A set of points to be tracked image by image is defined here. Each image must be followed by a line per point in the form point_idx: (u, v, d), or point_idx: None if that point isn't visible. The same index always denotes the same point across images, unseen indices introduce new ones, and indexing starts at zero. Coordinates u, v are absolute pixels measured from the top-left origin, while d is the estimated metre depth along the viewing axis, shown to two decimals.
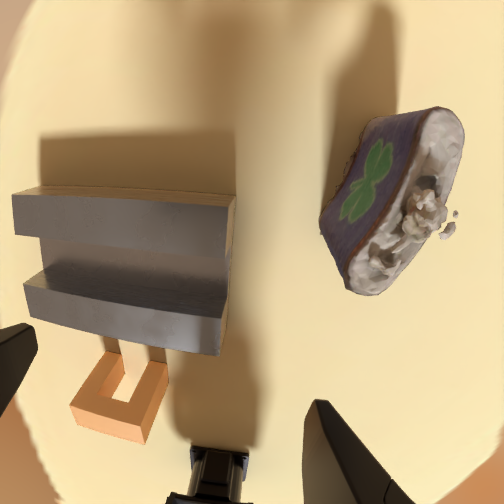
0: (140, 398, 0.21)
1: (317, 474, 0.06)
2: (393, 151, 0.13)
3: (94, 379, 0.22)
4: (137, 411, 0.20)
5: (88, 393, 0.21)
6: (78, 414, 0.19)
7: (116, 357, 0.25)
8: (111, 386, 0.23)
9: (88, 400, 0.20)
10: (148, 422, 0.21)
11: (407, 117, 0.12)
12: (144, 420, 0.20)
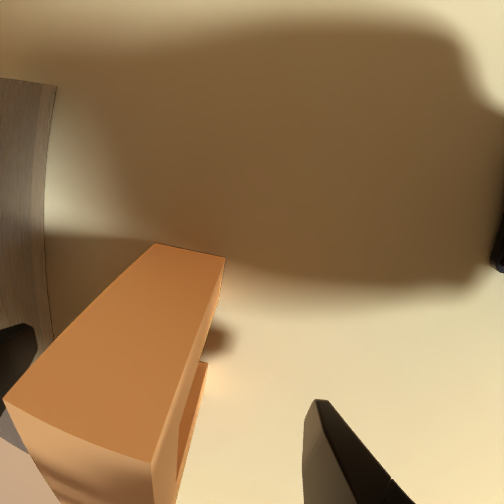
0: None
1: (317, 474, 0.06)
2: None
3: None
4: None
5: None
6: None
7: None
8: None
9: None
10: (107, 369, 0.04)
11: None
12: (42, 371, 0.04)
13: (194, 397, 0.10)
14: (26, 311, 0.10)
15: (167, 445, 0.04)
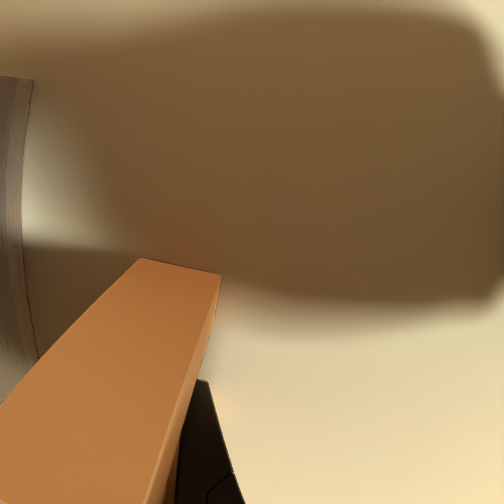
0: None
1: None
2: None
3: None
4: None
5: None
6: None
7: None
8: None
9: None
10: (71, 433, 0.03)
11: None
12: None
13: None
14: (5, 329, 0.08)
15: None
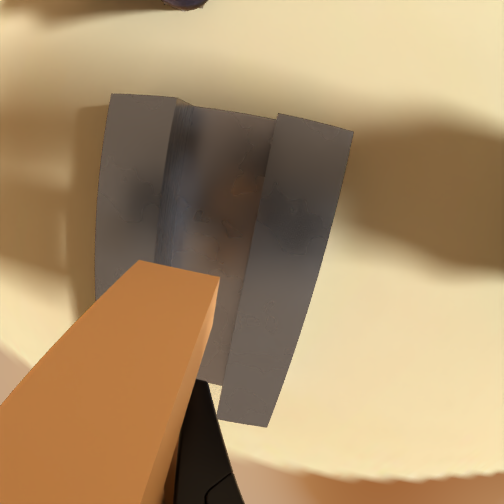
0: None
1: None
2: None
3: None
4: None
5: None
6: None
7: None
8: None
9: None
10: (68, 437, 0.03)
11: None
12: None
13: None
14: None
15: None
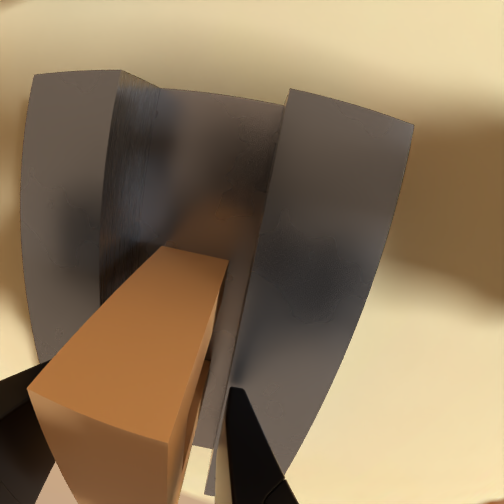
0: None
1: (220, 464, 0.06)
2: None
3: None
4: None
5: None
6: None
7: None
8: None
9: None
10: (124, 361, 0.05)
11: None
12: (64, 363, 0.04)
13: (198, 393, 0.10)
14: None
15: (179, 431, 0.05)
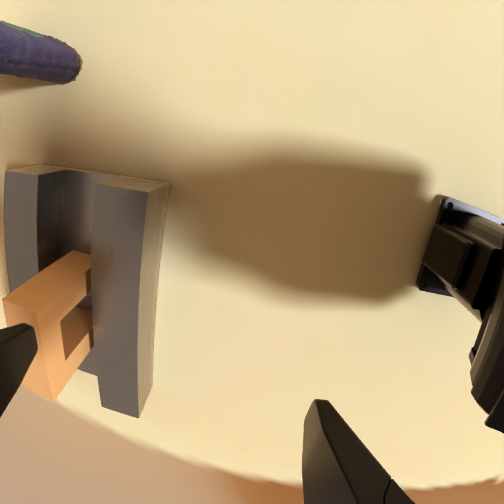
0: None
1: (317, 474, 0.06)
2: None
3: None
4: None
5: None
6: (32, 385, 0.13)
7: None
8: (70, 333, 0.17)
9: None
10: (34, 293, 0.13)
11: None
12: (15, 293, 0.12)
13: (88, 329, 0.18)
14: (149, 316, 0.19)
15: (48, 319, 0.13)
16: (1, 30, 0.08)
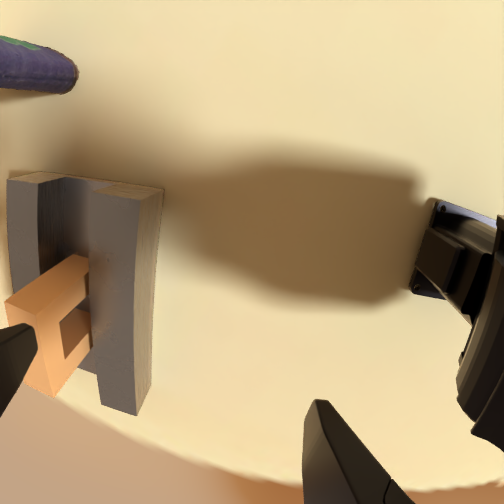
0: None
1: (317, 474, 0.06)
2: None
3: None
4: None
5: None
6: (33, 382, 0.14)
7: None
8: (70, 334, 0.18)
9: None
10: (35, 295, 0.14)
11: None
12: (17, 295, 0.13)
13: (88, 330, 0.19)
14: (145, 318, 0.20)
15: (47, 321, 0.14)
16: None
